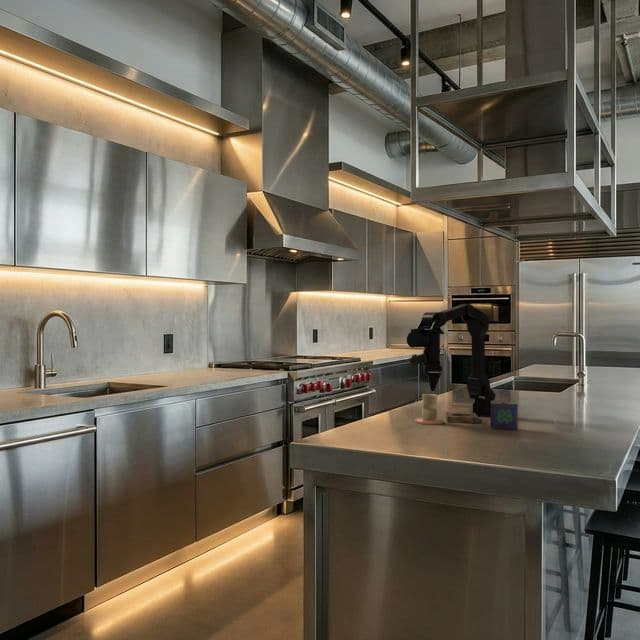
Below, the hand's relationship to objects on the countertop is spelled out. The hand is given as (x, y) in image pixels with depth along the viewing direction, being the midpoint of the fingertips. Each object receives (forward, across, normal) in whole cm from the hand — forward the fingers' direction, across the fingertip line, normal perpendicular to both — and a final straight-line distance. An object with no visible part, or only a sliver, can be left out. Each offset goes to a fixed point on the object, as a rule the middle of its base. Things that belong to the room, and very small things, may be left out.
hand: (432, 389), depth 227 cm
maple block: (+11, +1, -1) cm, 11 cm away
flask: (+12, +10, +24) cm, 29 cm away
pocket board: (+12, -6, +11) cm, 17 cm away
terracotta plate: (+12, +1, -1) cm, 12 cm away
